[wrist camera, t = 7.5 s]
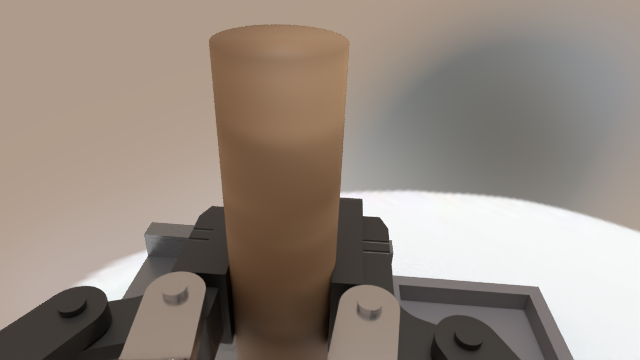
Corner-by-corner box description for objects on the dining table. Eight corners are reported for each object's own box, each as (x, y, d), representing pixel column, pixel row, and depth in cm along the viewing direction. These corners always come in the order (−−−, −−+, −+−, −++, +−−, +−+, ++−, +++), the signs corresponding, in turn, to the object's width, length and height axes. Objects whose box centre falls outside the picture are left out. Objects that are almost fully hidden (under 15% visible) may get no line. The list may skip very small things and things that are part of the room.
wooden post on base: (334, 404, 18) (364, 8, 11) (323, 622, 13) (371, 118, 5) (259, 398, 19) (236, 2, 11) (216, 610, 13) (109, 103, 5)
